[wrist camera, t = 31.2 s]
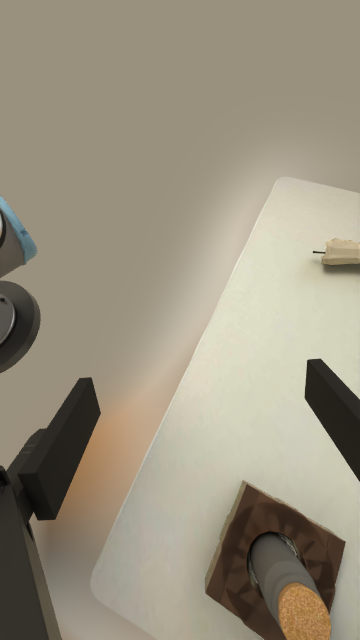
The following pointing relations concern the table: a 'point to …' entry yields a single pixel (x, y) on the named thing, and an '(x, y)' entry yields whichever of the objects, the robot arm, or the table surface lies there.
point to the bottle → (289, 590)
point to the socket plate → (235, 539)
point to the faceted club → (341, 252)
